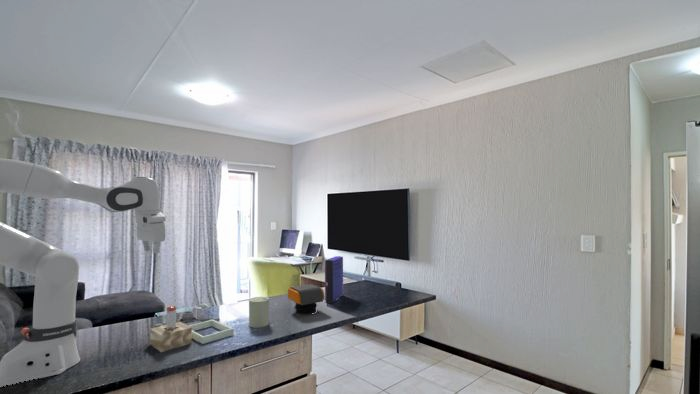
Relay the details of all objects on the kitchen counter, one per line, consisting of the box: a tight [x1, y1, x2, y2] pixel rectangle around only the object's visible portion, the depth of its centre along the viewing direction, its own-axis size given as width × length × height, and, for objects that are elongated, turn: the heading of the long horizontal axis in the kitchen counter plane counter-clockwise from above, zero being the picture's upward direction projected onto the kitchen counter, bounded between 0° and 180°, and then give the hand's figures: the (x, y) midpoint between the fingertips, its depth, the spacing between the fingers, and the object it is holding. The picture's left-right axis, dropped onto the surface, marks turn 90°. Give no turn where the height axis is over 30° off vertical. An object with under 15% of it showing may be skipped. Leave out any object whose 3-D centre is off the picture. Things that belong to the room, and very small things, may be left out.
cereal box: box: [324, 255, 344, 303], centre depth 202 cm, size 17×5×24 cm, turn 161°
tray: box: [188, 320, 234, 345], centre depth 142 cm, size 13×18×4 cm
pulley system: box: [153, 311, 220, 328], centre depth 161 cm, size 27×5×15 cm
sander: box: [287, 283, 325, 316], centre depth 180 cm, size 15×25×13 cm, turn 34°
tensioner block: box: [149, 321, 193, 353], centre depth 132 cm, size 11×11×7 cm
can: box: [248, 296, 270, 329], centre depth 157 cm, size 9×9×12 cm
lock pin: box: [166, 305, 177, 331], centre depth 132 cm, size 3×3×14 cm
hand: (151, 251), depth 136 cm, fingers open, 8 cm apart
